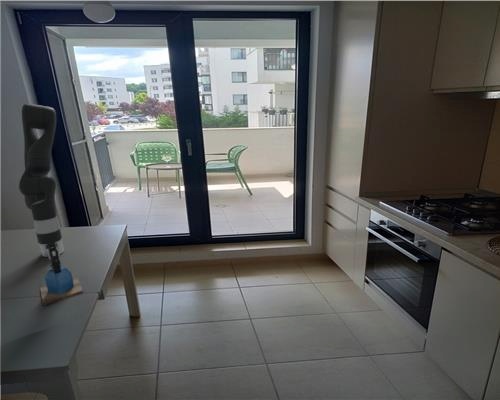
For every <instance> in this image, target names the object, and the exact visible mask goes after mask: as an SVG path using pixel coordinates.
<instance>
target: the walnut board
mask: <svg viewBox="0 0 500 400" xmlns="http://www.w3.org/2000/svg"><path fill="white" fill-rule="evenodd" d="M72 279H73V284H74V286H73V287H72V288H70V289H68V290H67V291H65V292H64V293H62V294H60V295H59V294H55V293H51V292H48V289H47V285H43V286H41V287H39V289H40V295H41V300H42V305H43V306H45V305H49V304H52V303H55V302H58V301H61V300H64V299H66V298H67V299H68V298H70V297H74V296H76V295H79V294H82V293H84V290H83V287H82V284H81V282H80V280H79V278H78V276H75V277H72Z"/></svg>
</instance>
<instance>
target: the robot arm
mask: <svg viewBox="0 0 500 400" xmlns="http://www.w3.org/2000/svg"><path fill="white" fill-rule="evenodd" d="M21 122H22V132H23V140H24V141H23V143H24V153H23V154H24V155H23V156H24V157H23V158H24V159H23V160H24V171H23V172H22V175H21V177H20V179H19V183H18V189H19V192H20V193H21V194H22V195H23V196H24V203H25V206H26V207H27V208H28V209H29V210H30V211H31V215H32V219H33V226H34V227H33V228H34V231H35V234H36V239H37V243H38V244H39V246H40V251H41V255H42V256H41V257H43V258H48V259H49V260H50V262H52V263H50V265H51V264H52V266H53V269H54V273H55V274H58V273H61V268H60V263H61V260H60V255H61V254H63V253H64V252H65V248H64V243H63V236H62V231H61V227H60V220H59V218H58V215H57V208H56V201H55V199H56V196H55V195H56V189H57V188H56V187H57V181H56V180H55V178H54V177H53V176H51V175H50V174H49V173H50V172H51V168H52V166H51V164H52V161H51V160H52V151H53V150H52V149H53V145H54V140H55V133H56V128H57V112H56V110H55V109H54V108H53V107H50V106H46V105H45V106H44V105H41V104H39V105H38V104H33V103H24V104H23V105H22V107H21ZM35 130H42V131H44V132H43V134H42V135H41V136H40V137H39V138H38V136H37V134H36V132H35ZM48 174H49V175H48ZM53 260H58V261H55V262H53Z"/></svg>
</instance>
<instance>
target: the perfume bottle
mask: <svg viewBox="0 0 500 400" xmlns="http://www.w3.org/2000/svg"><path fill="white" fill-rule="evenodd" d="M55 261H58V260H53V262H55ZM51 263H52V262H51V261H50V270H48V271H47V273H46V274H45V277H44V279H45V280H44V281H45V284H46V285H45V286H47V289H48V292H51V293H55V294H59V295H60V294H62V293H64V292H65V291H67V290H68V289H70V288H72V287H73V286H74V284H73V279H72V278H73V275H72V272H71V271H70V270H69V269H68V268H66V267H64V266H62V262H60V268H61V273H58V274H55V273H54V269H53V266H52V264H51Z"/></svg>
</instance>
